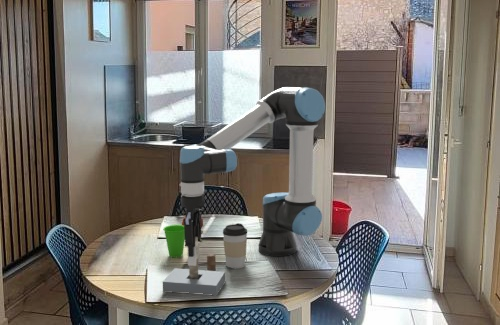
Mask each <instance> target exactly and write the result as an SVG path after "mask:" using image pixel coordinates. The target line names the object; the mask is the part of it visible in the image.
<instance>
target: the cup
mask: <svg viewBox="0 0 500 325" xmlns="http://www.w3.org/2000/svg"><path fill="white" fill-rule="evenodd" d="M163 231H164V236H165V240H166V246H167V250H168V251H167V252H168V255H169V257H171V258H181V257H183V254H184V248H185V232H184V226H183V225H182V224H171V225H166V226H164V227H163Z"/></svg>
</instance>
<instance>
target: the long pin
mask: <svg viewBox="0 0 500 325" xmlns="http://www.w3.org/2000/svg"><path fill="white" fill-rule="evenodd" d="M198 243H199V242H198V237H196V236H195V246H196V266H191V265H188V269H189V279H198V270H199V262H198Z"/></svg>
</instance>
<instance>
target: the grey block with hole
mask: <svg viewBox="0 0 500 325" xmlns="http://www.w3.org/2000/svg"><path fill="white" fill-rule="evenodd" d="M224 282H225V283H226V271H217V270H216V271H207V269H206V270H203V269H198V279H189V268H176V267H174V268H173V270H172V271H171V272H170V273H169V274H168V275H167V276H166V277H165V278H164V279H163V281H162V292H163V291H172V292H189V293H203V294H212V295H217V296H218V294H219V293H218V291H219V290H220V291H221V289H222V288H223V286H224V285H225V283H224ZM222 285H223V286H222ZM221 287H222V288H221ZM220 288H221V289H220ZM220 291H219V292H220ZM172 292H171V293H172ZM217 293H218V294H217Z"/></svg>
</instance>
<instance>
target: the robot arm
mask: <svg viewBox="0 0 500 325" xmlns="http://www.w3.org/2000/svg"><path fill="white" fill-rule="evenodd" d="M325 111H326V102H325V98H324V96H323V95H322V94H321V92H320V91H318V89H315V88H311V87H306V86H305V87H299V86H297V87H296V86H283V87H281V88H278V89H275V90H274V91H272V92H270V93H268V94H267V95H266V96H264V97H262V98H260V99H259V100H258V101H257V102H256V105H255V106H254V107H253V108H251V109H249V110H248V111H246V112H245V113H244V114H242V115H241V116H239V117H238V118H236V119H235V120H233V121H232V122H231V123H229V124H227V125H226V126H224V127H223V128H221V129H220V130H218V131H217V132H215V133H214V134H213V135H211V136H209V137H208V138H207V139H205V140H204V141H202V142H200V143H197V144H196V143H195V144H190V145H188V146H187V145H186V146H182V148H181V149H180V151H179V152H180V153H179V163H180V164H179V166H180V167H179V168H180V170H179V171H180V183H179V187H180V194H181V195H180V205H181V207H183V208H185V209H186V212H185V216H184V217H186V218H184V217H183V218H184V219H183V218H182V221H183V222H184V232H185V241H184V248H187V266H189V265H191V266H196V246H195V236H196V237H198V263H199V262H201V261H200V260H201V259H200V243H202V242H203V239H201V238H202V228H201V217H202V214H203V209H202V207H204V206H205V194H204V193H205V175H212V174H214V175H215V174H222V173H226V174H227V173H230V172H233V171H235V170H236V168H237V166H238V157H237V154H236V152H235V151H234V150H232V149H233V147H234V146H237V145H238V144H239V143H240V142H242V141H243V140H244V139H246V138H248V137H249V136H251V135H252V134H253V133H255V132H256V131H258V130H260V128H262V127H263V126H265V125H266V124H273V123H274V122H275V121H278V120H280V119H285V126H286V127H287V128H288V129H289V164H288V167H289V169H288V174H289V176H288V192H272V193H268V194H266V195H264V196H263V198H262V233H261V235H260V236H261V237H260V239H259V242H258V252H259V253H261V254H263V255H266V256H271V257H284V256H285V257H286V256H290V255H293V254H296V252H297V242H296V239H295V236H294V234H295V235H299V236H303V237H308V236H310V235H313V234H314V233H315V232H316V231H317V230H318V229H319V227H320V226H321V224H322V220H323V214H322V211H321V210H320V208H319V207H318V206H317V197H315V196H314V194H313V170H314V168H313V167H314V164H313V163H314V130H315V129H316V128H317V127H318V126H319V120H321V119H322V118H323V116H324V114H325Z"/></svg>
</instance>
